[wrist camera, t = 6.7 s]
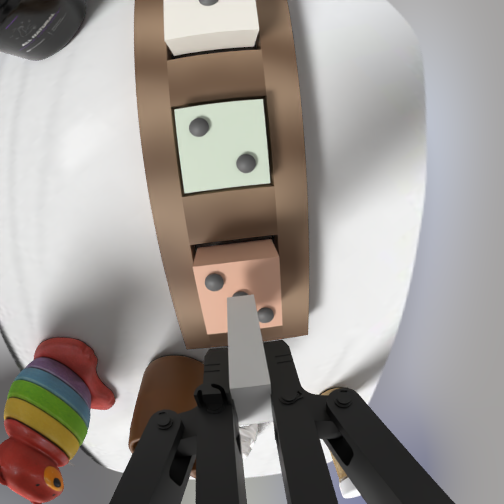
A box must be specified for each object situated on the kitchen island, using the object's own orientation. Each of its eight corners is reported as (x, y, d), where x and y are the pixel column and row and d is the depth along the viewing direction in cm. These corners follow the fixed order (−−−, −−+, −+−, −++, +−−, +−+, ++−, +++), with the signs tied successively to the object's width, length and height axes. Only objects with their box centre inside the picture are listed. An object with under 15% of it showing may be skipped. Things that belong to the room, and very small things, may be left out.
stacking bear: (120, 404, 27) (93, 531, 10) (56, 392, 26) (17, 497, 10) (90, 339, 23) (25, 496, 6) (22, 329, 22) (-49, 444, 5)
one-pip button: (171, -2, 11) (163, -24, 8) (246, -11, 12) (251, -34, 9) (174, 55, 13) (163, 39, 10) (253, 46, 14) (259, 28, 11)
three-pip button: (197, 247, 18) (192, 268, 16) (271, 238, 19) (279, 258, 16) (209, 309, 20) (207, 336, 17) (275, 301, 21) (283, 327, 18)
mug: (235, 415, 29) (240, 483, 20) (175, 421, 28) (170, 485, 20) (206, 346, 24) (202, 434, 15) (132, 355, 24) (109, 434, 15)
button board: (143, -17, 11) (136, -28, 10) (273, -31, 12) (278, -44, 10) (188, 334, 23) (186, 349, 21) (302, 320, 24) (307, 334, 22)
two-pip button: (182, 114, 16) (173, 109, 13) (257, 105, 17) (263, 98, 14) (190, 185, 18) (184, 194, 15) (263, 176, 19) (270, 183, 16)
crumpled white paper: (255, 435, 33) (262, 463, 28) (208, 440, 31) (212, 469, 27) (257, 409, 29) (265, 442, 25) (200, 415, 28) (204, 450, 24)
